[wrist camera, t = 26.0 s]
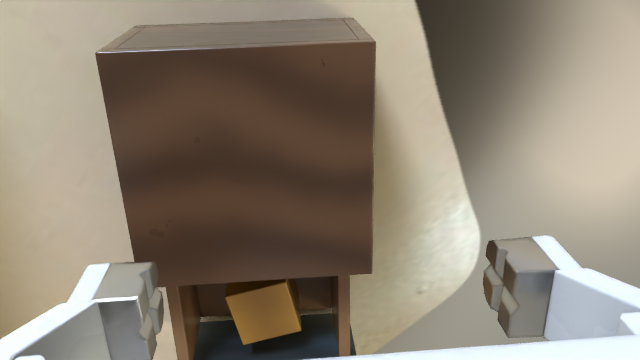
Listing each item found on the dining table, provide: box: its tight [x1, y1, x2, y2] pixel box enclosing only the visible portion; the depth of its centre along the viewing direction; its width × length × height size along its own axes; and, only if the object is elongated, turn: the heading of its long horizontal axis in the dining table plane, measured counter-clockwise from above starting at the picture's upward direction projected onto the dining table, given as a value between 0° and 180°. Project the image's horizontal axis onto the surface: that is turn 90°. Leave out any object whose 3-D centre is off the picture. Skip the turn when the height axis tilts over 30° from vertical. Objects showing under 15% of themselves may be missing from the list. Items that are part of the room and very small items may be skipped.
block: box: [225, 279, 301, 345], centre depth 41 cm, size 4×4×4 cm
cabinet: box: [95, 18, 376, 287], centre depth 36 cm, size 15×15×9 cm
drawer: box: [166, 275, 356, 360], centre depth 42 cm, size 20×13×7 cm
